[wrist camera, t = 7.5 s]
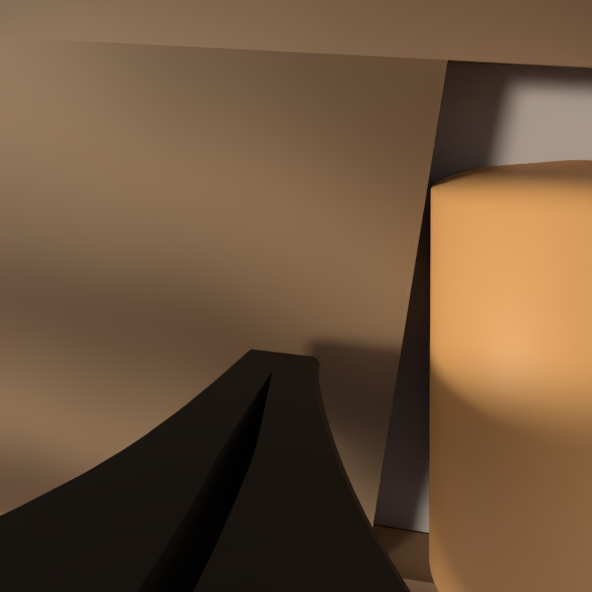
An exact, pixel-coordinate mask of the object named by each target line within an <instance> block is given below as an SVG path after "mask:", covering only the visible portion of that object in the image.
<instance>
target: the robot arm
mask: <svg viewBox="0 0 592 592" xmlns="http://www.w3.org/2000/svg"><path fill="white" fill-rule="evenodd" d="M319 367H320V362H319V361H318V360H317V359H316V358H315V357H313V356H305V355H297V354H288V353H280V352H271V351H263V350H255V349H251V350H249V351H248V352H247V353H245V354H244V355H243V356H242V357H241V358H240V359H239V360H237V361H236V362H235V363H234V364H233V365H232V366H231V367H230V368H228V369H227V370H226V371H225V372H224V373H223V374H222V375H221V376H219V377H218V378H217V379H216V380H215V381H214V382H212V383H211V384H210V385H209V386H208V387H207V388H205V389H204V390H203V391H202V392H201V393H199V394H198V395H197V396H196V397H194V398H193V399H192V400H191V401H190V402H188V403H187V404H186V405H185V406H183V407H182V408H181V409H180V410H178V411H177V412H176V413H174V414H173V415H172V416H170V417H169V418H168V419H166V420H165V421H163V422H162V423H161V424H159V425H158V426H157V427H155V428H154V429H153V430H151V431H150V432H148V433H147V434H146V435H144V436H143V437H141V438H140V439H139V440H137V441H136V442H134V443H133V444H131V445H130V446H128V447H126V448H125V449H123V450H122V451H120V452H118V453H117V454H115V455H113V456H112V457H110V458H108V459H107V460H105V461H104V462H102V463H100V464H99V465H97V466H95V467H94V468H92V469H90V470H88V471H87V472H85V473H83V474H81V475H79V476H78V477H76V478H74V479H72V480H70V481H68V482H66V483H64V484H62V485H60V486H58V487H56V488H54V489H52V490H50V491H49V492H47V493H45V494H43V495H41V496H39V497H37V498H35V499H33V500H31V501H29V502H27V503H25V504H23V505H21V506H20V507H18V508H15V509H13V510H11V511H9V512H7V513H5V514H3V515H0V592H411V591H410V590H409V588H408V586H407V585H406V583H405V582H404V580H403V578H402V577H401V575H400V573H399V572H398V570H397V569H396V567H395V565H394V564H393V562H392V560H391V559H390V557H389V556H388V554H387V552H386V551H385V549H384V547H383V545H382V544H381V542H380V540H379V538H378V536H377V534H376V533H375V531H374V529H373V527H372V525H371V523H370V521H369V519H368V518H367V516H366V514H365V512H364V510H363V507H362V505H361V503H360V501H359V499H358V497H357V495H356V493H355V491H354V489H353V486H352V484H351V482H350V480H349V477H348V475H347V473H346V470H345V468H344V465H343V463H342V460H341V457H340V455H339V452H338V450H337V447H336V444H335V441H334V438H333V435H332V432H331V429H330V426H329V422H328V419H327V415H326V412H325V408H324V404H323V400H322V395H321V389H320V383H319Z"/></svg>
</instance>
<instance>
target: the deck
mask: <svg viewBox="0 0 592 592" xmlns="http://www.w3.org/2000/svg"><path fill="white" fill-rule="evenodd" d="M447 62H466V63H485V64H504V65H523V66H543V67H562V68H581V69H592V0H0V515H3V514H5V513H7V512H9V511H11V510H13V509H15V508H18V507H20V506H21V505H23V504H25V503H27V502H29V501H31V500H33V499H35V498H37V497H39V496H41V495H43V494H45V493H47V492H49V491H50V490H52V489H54V488H56V487H58V486H60V485H62V484H64V483H66V482H68V481H70V480H72V479H74V478H76V477H78V476H79V475H81V474H83V473H85V472H87V471H88V470H90V469H92V468H94V467H95V466H97V465H99V464H100V463H102V462H104V461H105V460H107V459H108V458H110V457H112V456H113V455H115V454H117V453H118V452H120V451H122V450H123V449H125V448H126V447H128V446H130V445H131V444H133V443H134V442H136V441H137V440H139V439H140V438H141V437H143V436H144V435H146V434H147V433H148V432H150V431H151V430H153V429H154V428H155V427H157V426H158V425H159V424H161V423H162V422H163V421H165V420H166V419H168V418H169V417H170V416H172V415H173V414H174V413H176V412H177V411H178V410H180V409H181V408H182V407H183V406H185V405H186V404H187V403H188V402H190V401H191V400H192V399H193V398H194V397H196V396H197V395H198V394H199V393H201V392H202V391H203V390H204V389H205V388H207V387H208V386H209V385H210V384H211V383H212V382H214V381H215V380H216V379H217V378H218V377H219V376H221V375H222V374H223V373H224V372H225V371H226V370H227V369H228V368H230V367H231V366H232V365H233V364H234V363H235V362H236V361H237V360H239V359H240V358H241V357H242V356H243V355H244V354H245V353H247V352H248V351H249V350H251V349H255V350H263V351H271V352H280V353H288V354H297V355H305V356H313V357H315V358H316V359H317V360H318V361H319V362H320V367H319V383H320V389H321V395H322V400H323V404H324V408H325V412H326V415H327V419H328V422H329V426H330V429H331V432H332V435H333V438H334V441H335V444H336V447H337V450H338V452H339V455H340V457H341V460H342V463H343V465H344V468H345V470H346V473H347V475H348V477H349V480H350V482H351V484H352V486H353V489H354V491H355V493H356V495H357V497H358V499H359V501H360V503H361V505H362V507H363V510H364V512H365V514H366V516H367V518H368V519H369V521H370V523H371V525H372V527H373V529H374V531H375V533H376V534H377V536H378V538H379V540H380V542H381V544H382V545H383V547H384V549H385V551H386V552H387V554H388V556H389V557H390V559H391V560H392V562H393V564H394V565H395V567H396V569H397V570H398V572H399V573H400V575H401V577H402V578H403V580H404V582H405V583H406V585H407V586H408V588H409V590H410V591H411V592H438V590H437V587H436V585H435V583H434V580H433V577H432V574H431V570H430V564H429V534H425V533H419V532H412V531H406V530H399V529H393V528H386V527H380V526H373V522H374V516H375V510H376V503H377V497H378V491H379V485H380V478H381V472H382V466H383V460H384V454H385V447H386V441H387V435H388V429H389V423H390V416H391V410H392V404H393V398H394V391H395V385H396V379H397V373H398V367H399V360H400V354H401V348H402V342H403V336H404V329H405V323H406V317H407V311H408V304H409V298H410V292H411V286H412V280H413V273H414V267H415V261H416V255H417V249H418V242H419V236H420V230H421V224H422V217H423V211H424V205H425V199H426V193H427V186H428V180H429V174H430V168H431V162H432V155H433V149H434V143H435V137H436V130H437V124H438V118H439V112H440V106H441V99H442V93H443V87H444V81H445V75H446V68H447Z"/></svg>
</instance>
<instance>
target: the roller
mask: <svg viewBox="0 0 592 592" xmlns="http://www.w3.org/2000/svg"><path fill="white" fill-rule="evenodd" d="M429 564H430V570H431V574H432V577H433V580H434V583H435V585H436V587H437V590H438V592H592V161H588V160H567V161H554V162H541V163H528V164H515V165H502V166H489V167H483V168H477V169H472V170H468V171H464V172H460V173H456V174H453V175H450V176H447V177H445V178H443V179H441V180H439V181H437V182H436V183H435V184H434V185H433V186H432V188H431V263H430V458H429Z"/></svg>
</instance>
